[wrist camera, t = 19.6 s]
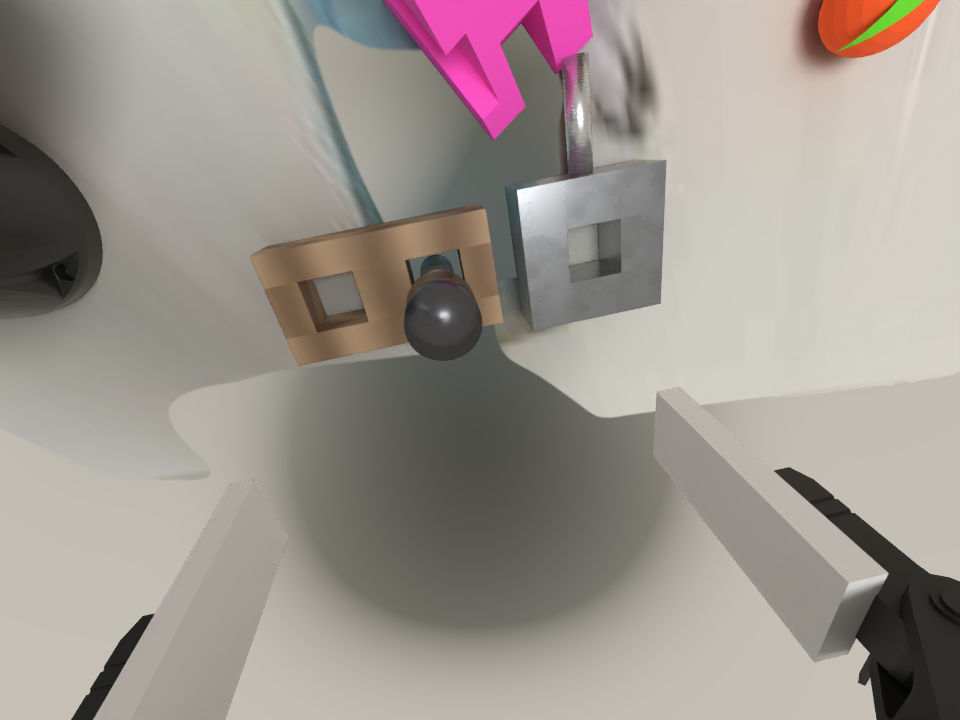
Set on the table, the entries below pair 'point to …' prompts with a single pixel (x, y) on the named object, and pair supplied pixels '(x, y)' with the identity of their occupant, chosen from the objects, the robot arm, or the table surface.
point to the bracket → (491, 45)
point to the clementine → (869, 24)
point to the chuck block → (584, 201)
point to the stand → (371, 279)
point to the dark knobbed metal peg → (441, 312)
